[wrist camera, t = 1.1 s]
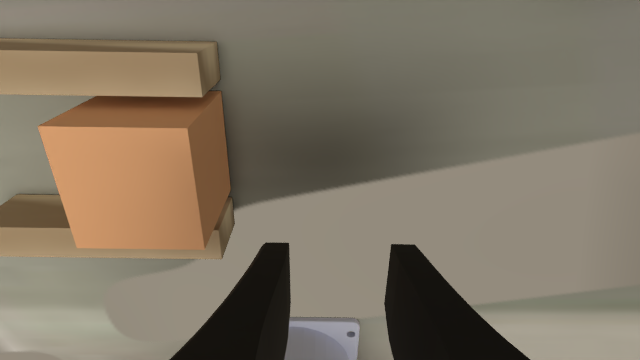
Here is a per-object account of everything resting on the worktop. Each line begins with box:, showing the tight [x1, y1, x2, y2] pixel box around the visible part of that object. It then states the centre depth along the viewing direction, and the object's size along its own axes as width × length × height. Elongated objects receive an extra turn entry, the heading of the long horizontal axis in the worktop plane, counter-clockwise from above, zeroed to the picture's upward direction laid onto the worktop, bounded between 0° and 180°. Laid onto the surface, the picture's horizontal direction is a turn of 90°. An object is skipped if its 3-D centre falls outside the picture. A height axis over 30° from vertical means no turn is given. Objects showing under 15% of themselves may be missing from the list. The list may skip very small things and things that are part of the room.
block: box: [38, 91, 231, 250], centre depth 17 cm, size 5×5×5 cm
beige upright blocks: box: [0, 38, 235, 259], centre depth 18 cm, size 9×11×3 cm
